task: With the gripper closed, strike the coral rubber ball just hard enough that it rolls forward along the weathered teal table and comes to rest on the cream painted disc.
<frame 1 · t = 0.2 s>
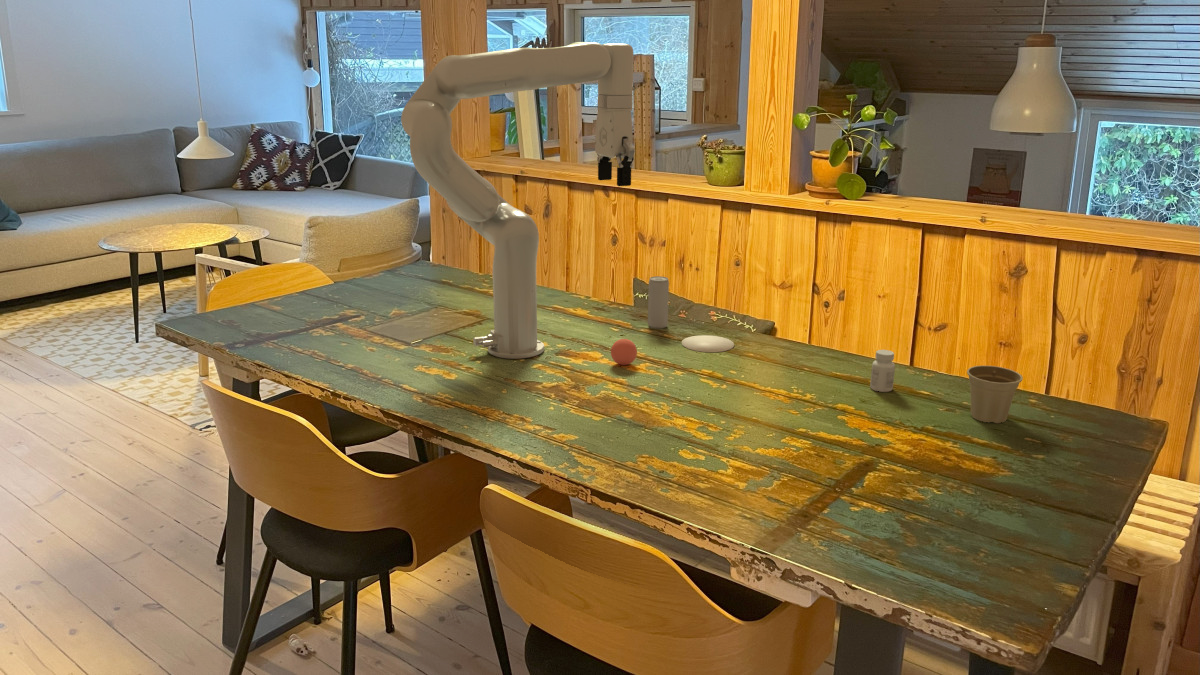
hand: (614, 182, 205), 36 cm above the table, tool pointing down, fingers open, 9 cm apart
ball: (623, 351, 198), on the table
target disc: (707, 343, 213), on the table
flower pot: (988, 418, 172), on the table
beverage can: (657, 327, 226), on the table
pill bottle: (881, 389, 186), on the table
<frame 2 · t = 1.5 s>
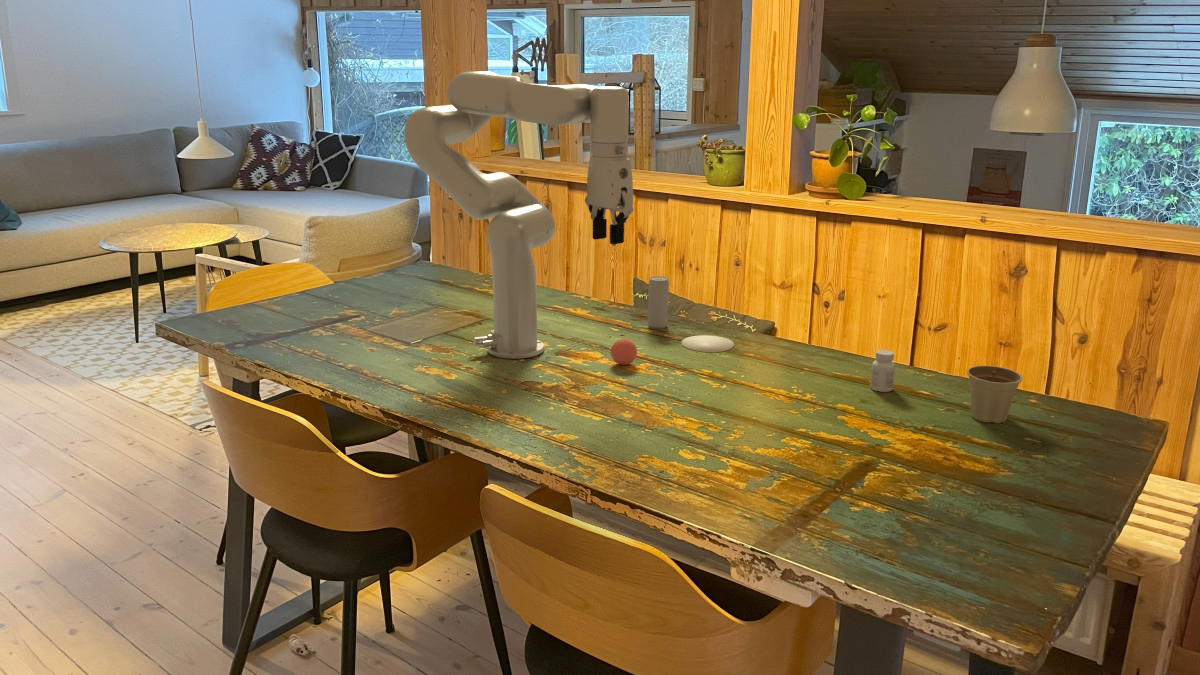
hand: (608, 240, 189), 27 cm above the table, tool pointing down, fingers open, 5 cm apart
nothing on the table moved.
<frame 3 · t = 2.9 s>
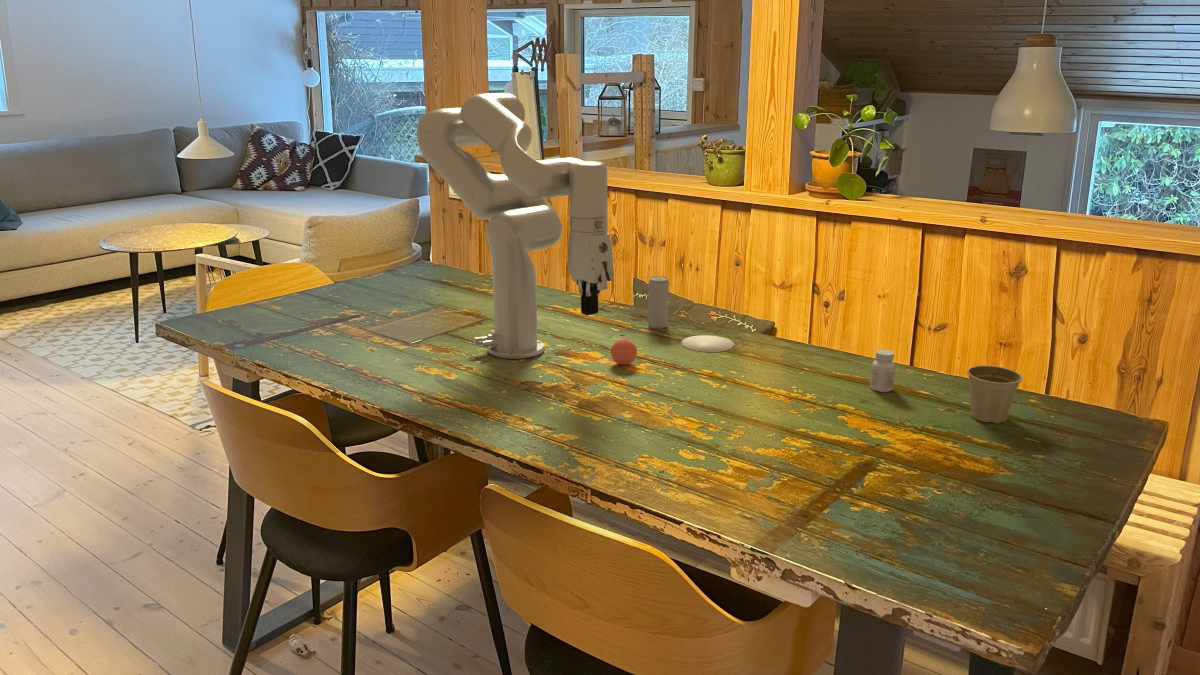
hand: (589, 313, 189), 13 cm above the table, tool pointing down, fingers closed
nothing on the table moved.
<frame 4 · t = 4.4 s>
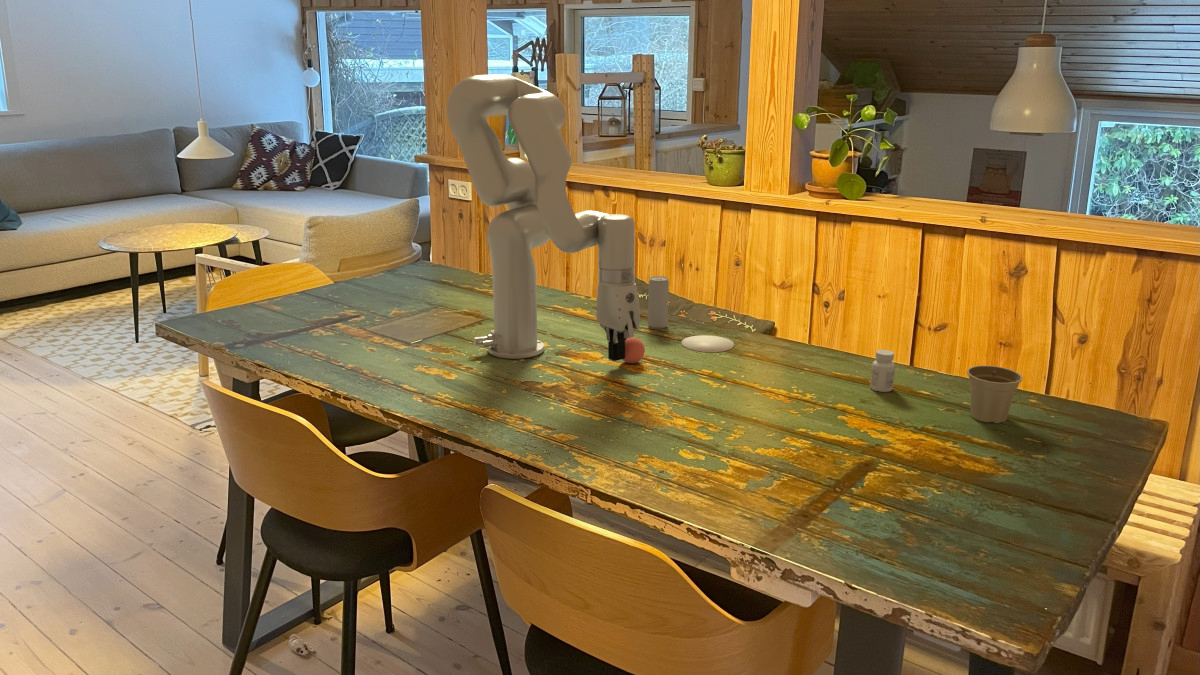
hand: (616, 358, 197), 2 cm above the table, tool pointing down, fingers closed
ball: (631, 350, 199), on the table
everything else where it was.
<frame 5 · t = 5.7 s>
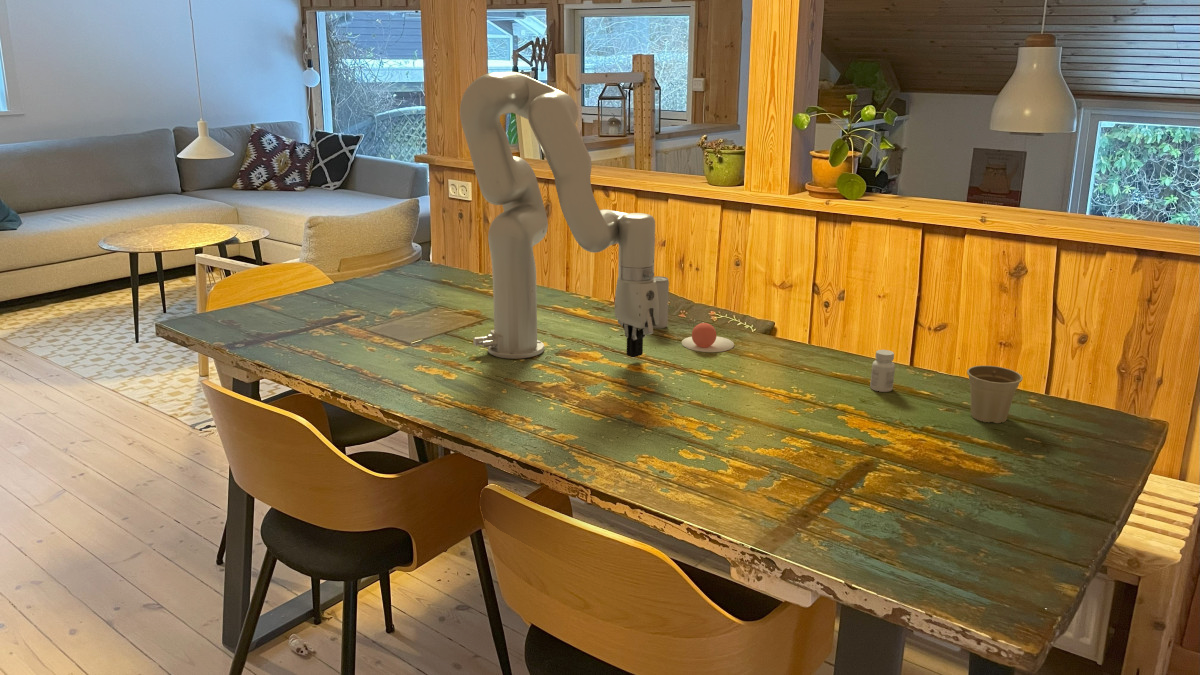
hand: (634, 355, 200), 2 cm above the table, tool pointing down, fingers closed
ball: (704, 335, 210), on the table
everything else where it was.
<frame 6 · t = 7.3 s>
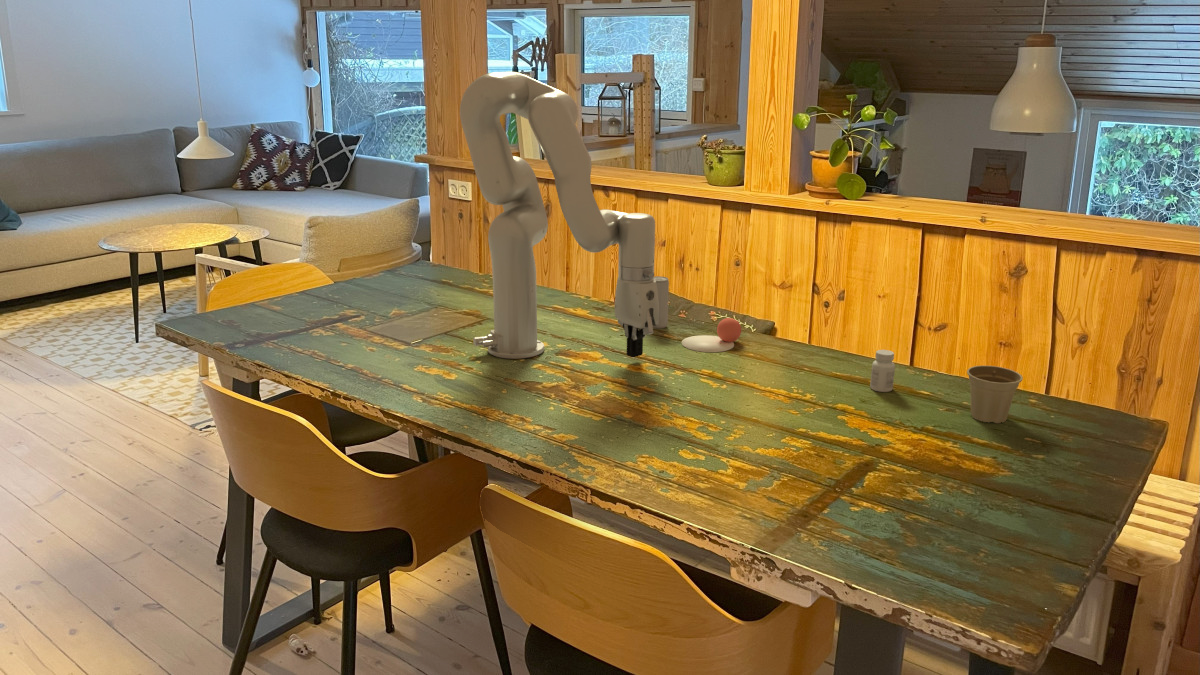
hand: (634, 355, 200), 2 cm above the table, tool pointing down, fingers closed
ball: (729, 330, 214), on the table
everything else where it was.
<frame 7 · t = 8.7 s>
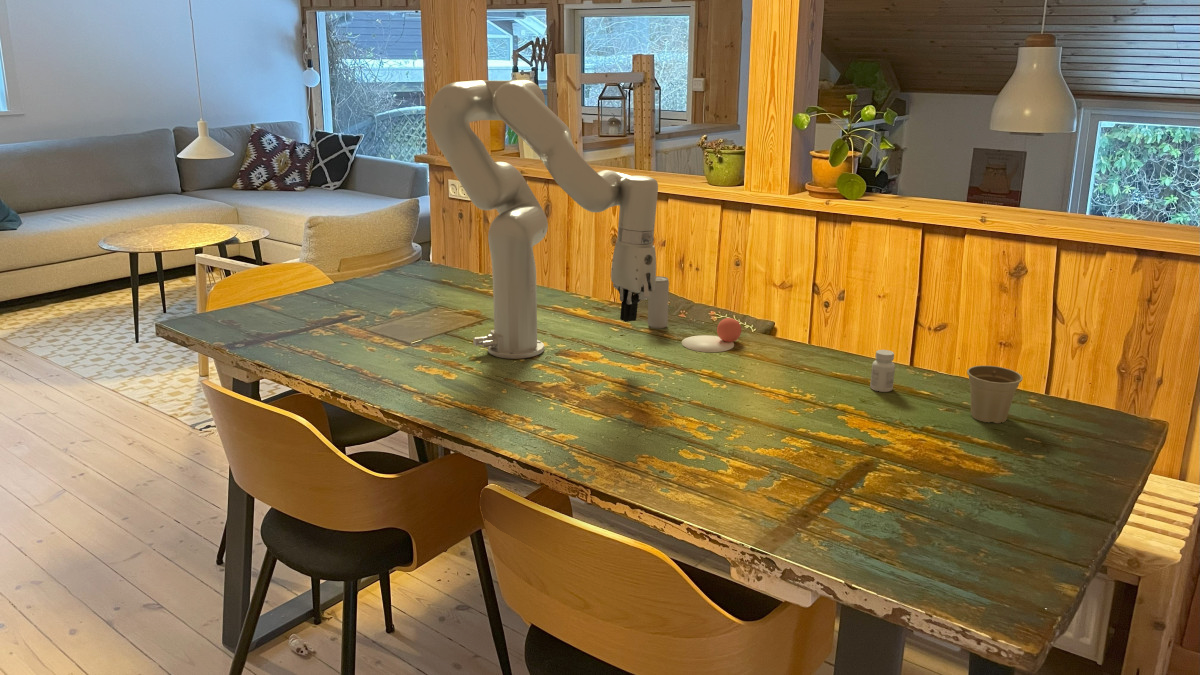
hand: (628, 319, 198), 9 cm above the table, tool pointing down, fingers closed
nothing on the table moved.
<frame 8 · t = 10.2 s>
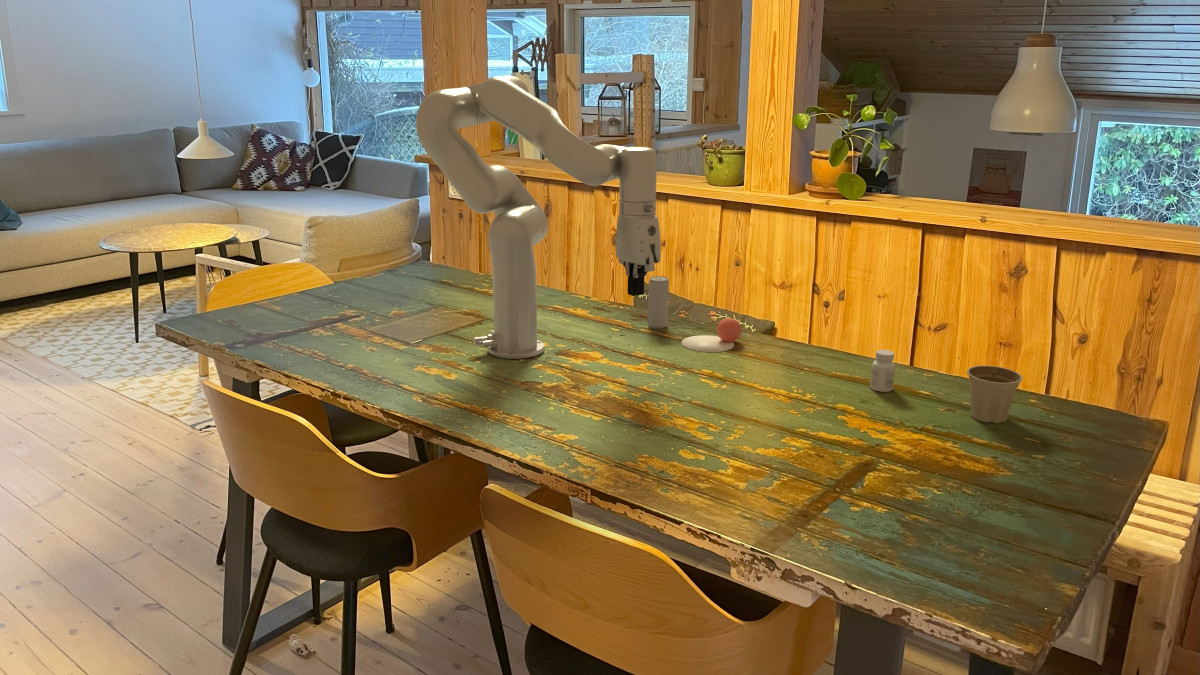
hand: (635, 294, 196), 15 cm above the table, tool pointing down, fingers closed
nothing on the table moved.
at the end: ball 5.4 cm from the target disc (horizontally); ball at rest at the end (0.0 cm/s); ball moved 29.8 cm from its start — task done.
